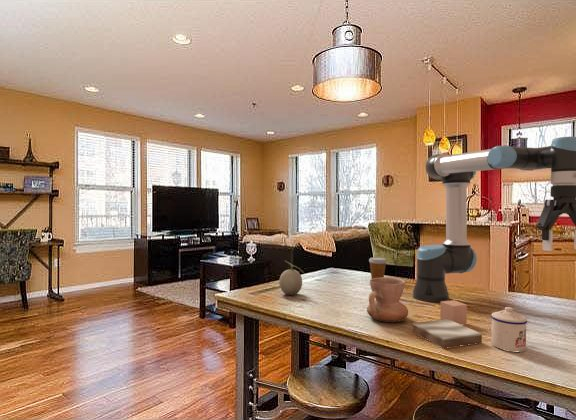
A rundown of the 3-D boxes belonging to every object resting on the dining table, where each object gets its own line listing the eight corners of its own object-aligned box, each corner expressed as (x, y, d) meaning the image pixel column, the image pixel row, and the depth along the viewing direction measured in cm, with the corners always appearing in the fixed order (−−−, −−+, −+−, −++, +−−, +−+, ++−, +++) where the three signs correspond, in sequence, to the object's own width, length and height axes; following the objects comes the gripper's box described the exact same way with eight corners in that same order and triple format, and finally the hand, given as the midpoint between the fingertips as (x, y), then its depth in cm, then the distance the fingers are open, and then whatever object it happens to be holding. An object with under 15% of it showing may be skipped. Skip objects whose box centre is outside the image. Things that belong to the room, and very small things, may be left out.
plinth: (412, 332, 116) (412, 323, 116) (447, 327, 120) (447, 319, 120) (443, 348, 103) (443, 338, 103) (481, 343, 107) (481, 333, 107)
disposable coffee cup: (375, 277, 202) (375, 256, 202) (389, 280, 195) (390, 258, 194) (365, 279, 196) (365, 258, 196) (379, 282, 189) (379, 260, 188)
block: (440, 320, 128) (440, 301, 128) (453, 319, 130) (454, 300, 130) (452, 326, 122) (453, 306, 122) (466, 324, 124) (466, 304, 124)
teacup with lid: (522, 356, 98) (523, 314, 98) (486, 347, 104) (487, 307, 104) (531, 344, 107) (532, 305, 106) (497, 336, 113) (498, 299, 113)
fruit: (301, 298, 157) (301, 264, 157) (276, 296, 160) (276, 263, 160) (306, 292, 167) (306, 261, 167) (283, 290, 170) (283, 259, 170)
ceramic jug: (387, 310, 140) (386, 274, 140) (418, 319, 128) (418, 280, 128) (354, 319, 130) (353, 280, 130) (385, 330, 118) (385, 288, 118)
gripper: (546, 183, 109) (544, 252, 109) (606, 185, 115) (604, 250, 116) (524, 184, 116) (522, 249, 117) (581, 186, 123) (580, 247, 123)
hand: (563, 250), depth 116 cm, fingers open, 13 cm apart
